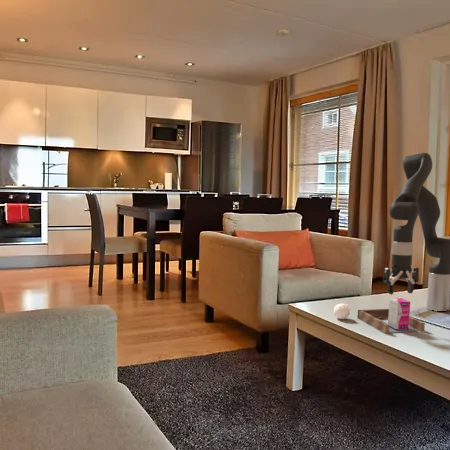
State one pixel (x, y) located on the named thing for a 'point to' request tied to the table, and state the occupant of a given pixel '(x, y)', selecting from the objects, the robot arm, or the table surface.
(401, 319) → the supplement box
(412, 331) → the loading mat
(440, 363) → the table surface
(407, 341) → the table surface
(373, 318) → the shallow wooden tray
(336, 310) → the ornament
